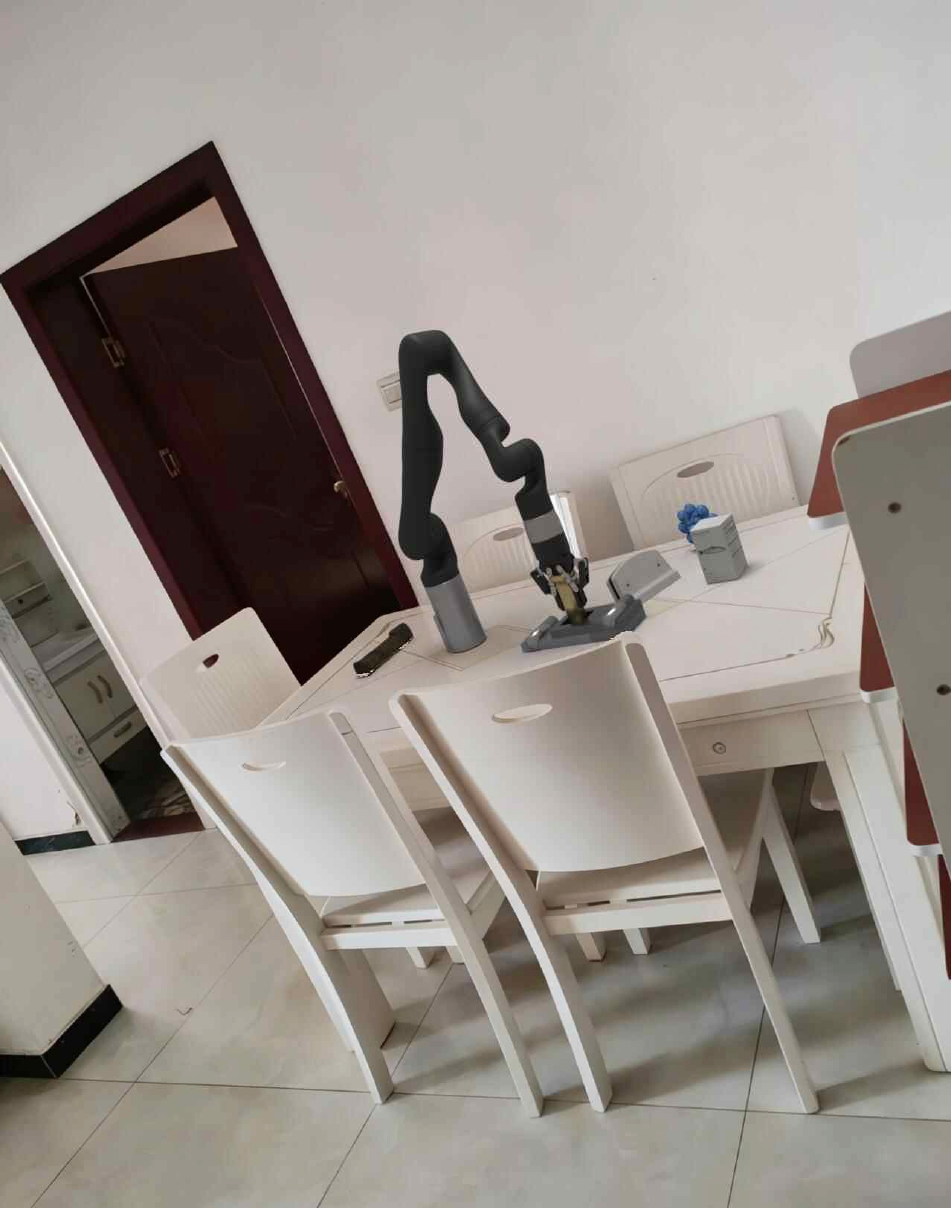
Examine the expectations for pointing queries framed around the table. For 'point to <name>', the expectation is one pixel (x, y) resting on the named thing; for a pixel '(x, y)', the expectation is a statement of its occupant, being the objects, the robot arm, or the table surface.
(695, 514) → the grapes
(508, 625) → the table surface
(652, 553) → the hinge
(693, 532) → the supplement box
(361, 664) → the hand tool
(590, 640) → the gray socket base
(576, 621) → the brass pin
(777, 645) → the table surface
